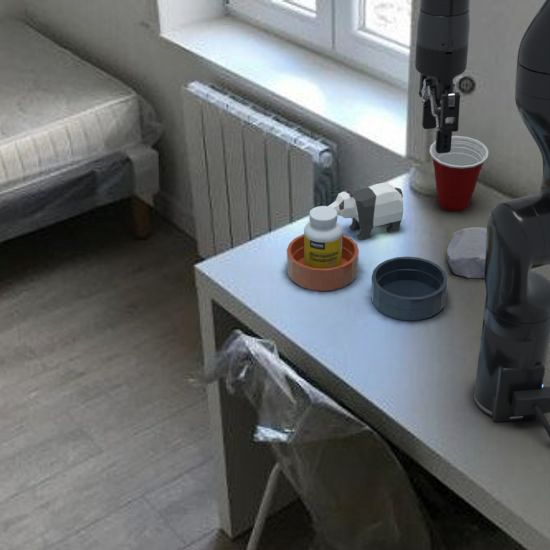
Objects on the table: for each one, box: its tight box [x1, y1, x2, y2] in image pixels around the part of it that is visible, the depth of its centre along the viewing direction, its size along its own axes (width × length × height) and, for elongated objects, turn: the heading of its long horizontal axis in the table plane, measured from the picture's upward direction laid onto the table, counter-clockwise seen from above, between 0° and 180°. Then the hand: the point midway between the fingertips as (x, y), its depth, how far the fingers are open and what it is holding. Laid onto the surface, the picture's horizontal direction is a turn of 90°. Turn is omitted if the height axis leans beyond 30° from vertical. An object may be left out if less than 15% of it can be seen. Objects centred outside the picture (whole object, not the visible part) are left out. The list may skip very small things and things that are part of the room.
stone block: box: [446, 226, 487, 279], centre depth 169 cm, size 12×5×10 cm
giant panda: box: [328, 182, 404, 241], centre depth 176 cm, size 15×6×10 cm, turn 111°
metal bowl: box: [370, 256, 449, 321], centre depth 160 cm, size 12×12×4 cm
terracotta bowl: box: [286, 233, 360, 292], centre depth 167 cm, size 12×12×4 cm
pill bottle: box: [303, 205, 343, 268], centre depth 165 cm, size 6×6×12 cm
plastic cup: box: [429, 135, 489, 213], centre depth 182 cm, size 11×11×12 cm
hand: (435, 139), depth 150 cm, fingers open, 8 cm apart
